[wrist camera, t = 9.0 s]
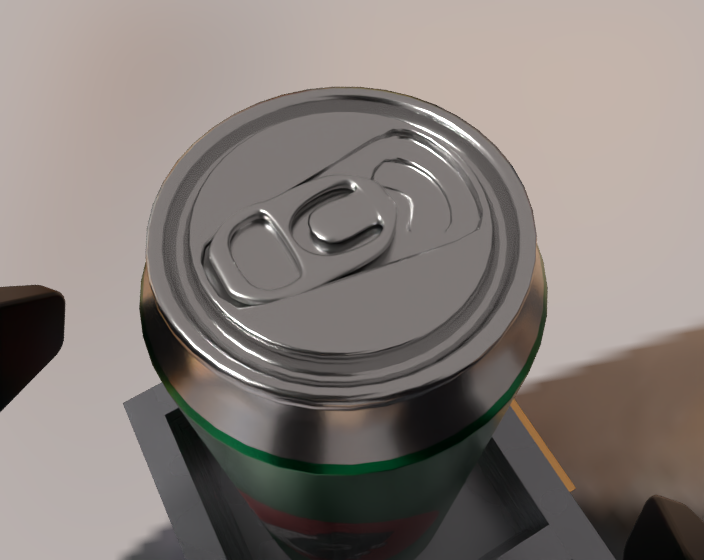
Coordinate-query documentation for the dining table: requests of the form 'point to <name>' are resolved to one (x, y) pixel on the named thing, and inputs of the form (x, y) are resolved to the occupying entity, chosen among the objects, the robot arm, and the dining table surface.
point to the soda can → (344, 311)
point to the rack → (447, 544)
